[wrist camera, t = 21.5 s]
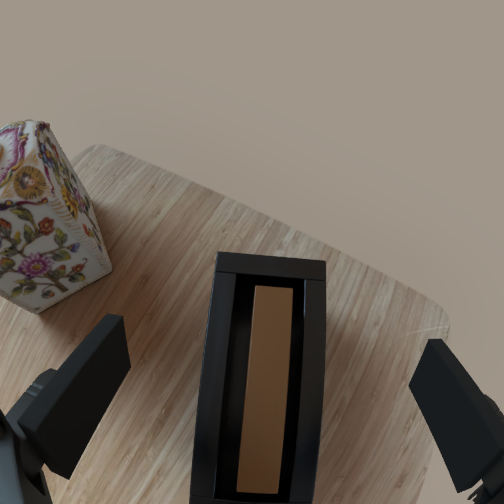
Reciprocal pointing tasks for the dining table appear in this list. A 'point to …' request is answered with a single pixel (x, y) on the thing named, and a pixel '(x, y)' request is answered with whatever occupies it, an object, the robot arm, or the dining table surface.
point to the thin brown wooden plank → (265, 391)
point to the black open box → (234, 379)
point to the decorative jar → (44, 221)
